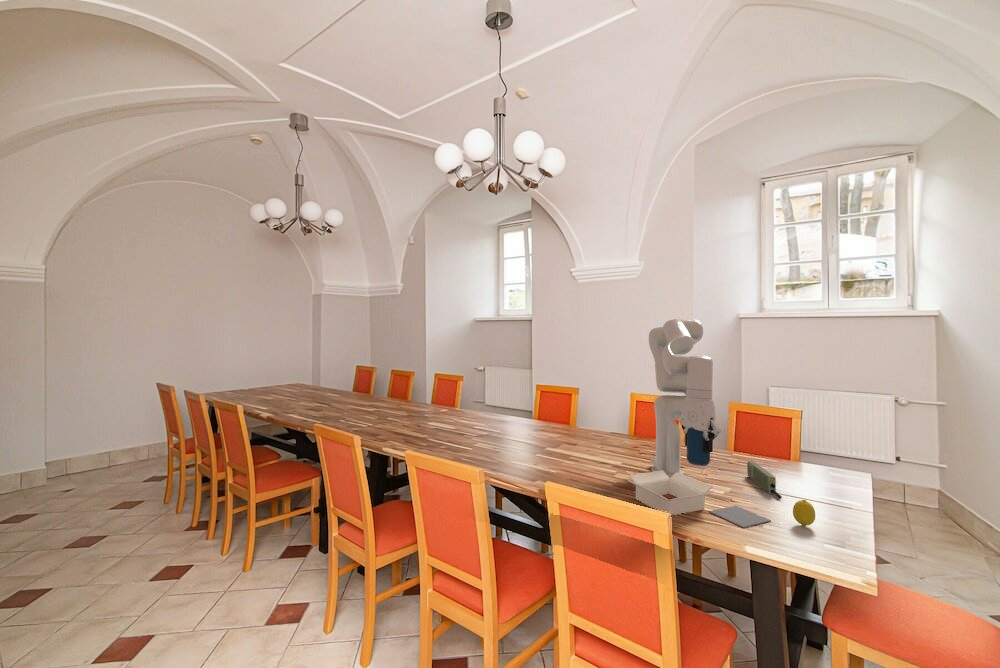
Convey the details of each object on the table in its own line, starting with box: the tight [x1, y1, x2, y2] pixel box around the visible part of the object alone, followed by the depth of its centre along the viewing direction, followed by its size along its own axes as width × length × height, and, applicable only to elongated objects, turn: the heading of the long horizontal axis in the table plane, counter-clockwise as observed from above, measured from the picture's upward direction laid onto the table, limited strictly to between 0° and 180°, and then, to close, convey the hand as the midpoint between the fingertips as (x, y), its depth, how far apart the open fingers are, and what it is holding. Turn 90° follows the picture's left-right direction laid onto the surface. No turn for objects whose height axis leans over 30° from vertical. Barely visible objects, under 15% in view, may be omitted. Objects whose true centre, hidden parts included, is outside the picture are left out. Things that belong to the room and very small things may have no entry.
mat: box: [709, 505, 772, 529], centre depth 136 cm, size 12×12×1 cm
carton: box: [627, 470, 715, 516], centre depth 146 cm, size 22×22×7 cm
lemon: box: [792, 499, 816, 527], centre depth 130 cm, size 6×6×8 cm
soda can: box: [686, 427, 711, 467], centre depth 142 cm, size 7×7×12 cm
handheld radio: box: [746, 460, 782, 500], centre depth 163 cm, size 7×3×25 cm
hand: (698, 448), depth 142 cm, fingers closed on soda can, 7 cm apart
